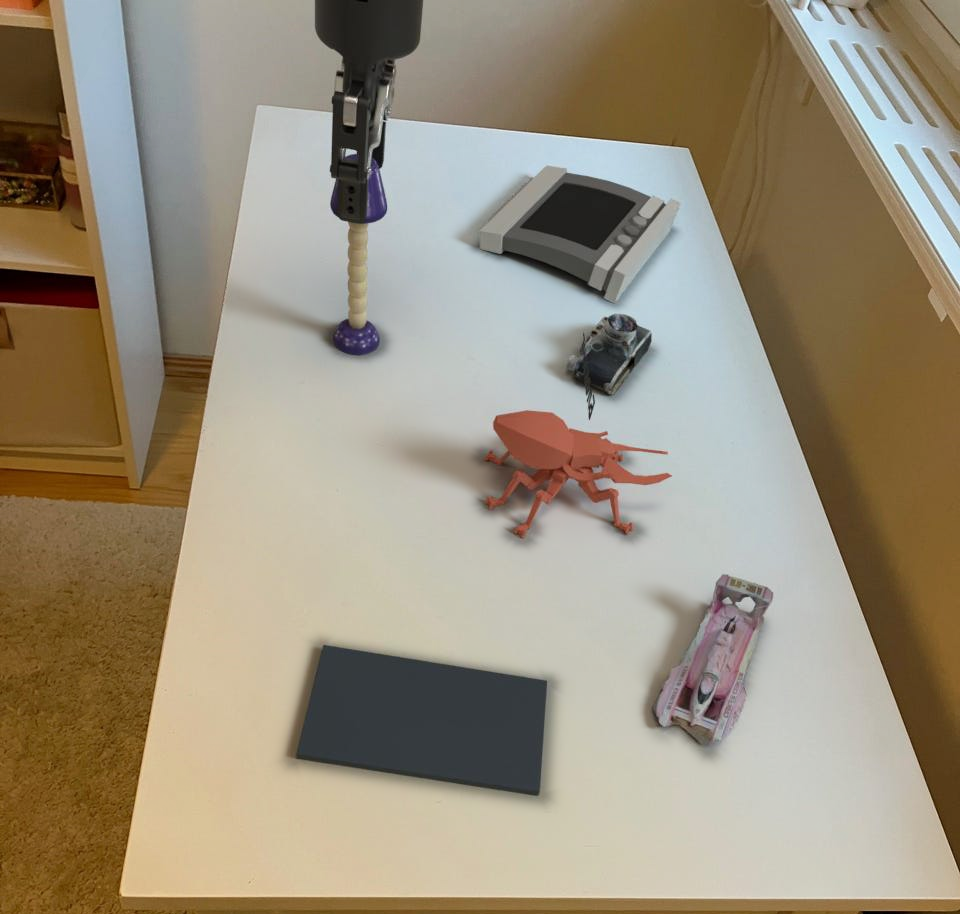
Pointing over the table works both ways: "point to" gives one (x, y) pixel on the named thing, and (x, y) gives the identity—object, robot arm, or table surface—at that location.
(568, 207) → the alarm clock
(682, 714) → the boxed toy car
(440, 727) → the mat
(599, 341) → the camera
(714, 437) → the table surface
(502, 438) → the beetle
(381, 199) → the toy lamp
